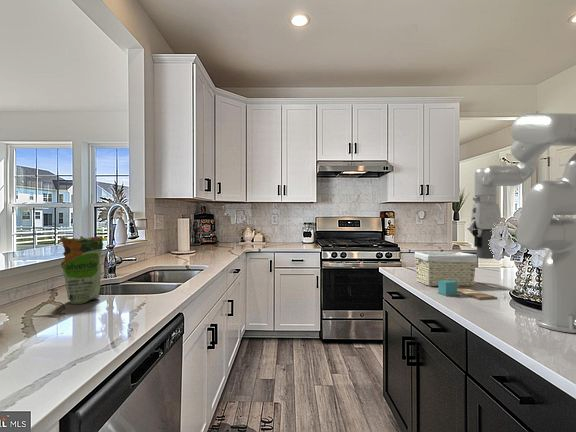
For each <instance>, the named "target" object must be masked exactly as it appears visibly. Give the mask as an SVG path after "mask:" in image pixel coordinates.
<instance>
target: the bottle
mask: <svg viewBox="0 0 576 432" xmlns="http://www.w3.org/2000/svg"><path fill="white" fill-rule="evenodd" d="M491 230H492V229H491ZM491 230H482V233H481V236H480V237H482V247H476V255H477V259H482V260H483V259H484V260H492V259H494V257H495V253H494V254H492V253H493V252H492V251H490V250H491V249H489V247H490V246H489V245H490V244H489V241H488V240H490V239H491V236H492V231H491ZM490 231H491V232H490ZM488 244H489V245H488ZM491 252H492V253H491ZM493 255H494V257H493Z"/></svg>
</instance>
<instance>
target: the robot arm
mask: <svg viewBox="0 0 576 432" xmlns="http://www.w3.org/2000/svg"><path fill="white" fill-rule="evenodd" d="M510 136H511V138H512V139H513V140H514V142H513V143H512V144H511V147H510V153H511V155H512V156H513V157H514V159H515V160H517V161H518V163H517V164H515V165H514V164H513V165H511V164H510V165H508V164H506V165H500V164H499V165H497V164H496V165H495V164H494V165H493V164H492V165H487V166H486V167H481V168H478V169H476V170H475V172H474V197H472V200H473V201H474V203H473V204H472V209H471V214H470V215H471V216H470V223H469V224H468V225H467V230H468V231H469V232H470V233H471V234H472V236H473V239H474V247H475V248H477V247H482V237H480V236H481V233H482V230H491V229H492V228H495V226H496V225H497V224H499V223H500V222H501V223H502V218H501V217H502V215H501V210H500V205H499V203H497V202H498V201H497V200H498V199H497V197H498V193H497V192H498V187H516V186H519V185H522V184H523V183H525V182H526V181H527V180H529V178H530V177H532V176H533V175H534V173H535V172H536V170H537V167H538V158H540V157H541V155H542V154H544V152H546V151H547V150H548V149H549V148H550V147H553V146H555V147H556V146H557V147H558V146H559V147H560V146H561V147H564V146H565V147H571V146H572V147H573V146H574V147H576V113H568V112H567V113H565V112H562V113H561V112H560V113H556V112H555V113H552V112H551V113H550V112H549V113H547V112H546V113H545V112H544V113H541V112H540V113H538V112H536V113H535V112H530V113H529V112H527V113H523V114H520V115H519V116H518V117H517V118H515V119H514V121H513V123H512V125H511V127H510ZM523 203H524V204H523V207H522V210H521V214H520V216H519V220H518V224H517V227H516V239H517V242H518V243H519V246H521V247H522V248H524V249H526V250H530V251H547V252H546V254H545V256H544V257H543V260H542V263H541V299H542V300H541V315H542V316H538V317H537V318H535V324H536V325H538V326H539V327H542V328H544V329H547V330H553V331H557V332H563V333H570V334H576V218H575V217H570V216H576V152H575V153H574V154H573V155H572V156H571V157H570V158H569V159H568V161H567V163H566V165H565V166H564V170H563V173H562V175H561V177H560V179H558V180H541V181H539V182H537V183H535V184H534V185H533V186H532V187H531V188H530V189H529V190H528V192H527V194H526V197H525V200H524V202H523ZM499 218H501V220H499ZM494 223H495V224H496V225H495V224H494ZM493 224H494V225H495V226H494V225H493Z"/></svg>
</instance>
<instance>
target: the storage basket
mask: <svg viewBox="0 0 576 432" xmlns="http://www.w3.org/2000/svg"><path fill="white" fill-rule="evenodd" d="M414 261H415V275H416V281H417V282H418V283H421V284H423V285H426V286H429V287H438V280H451V281H455V282H457V286H460V287H463V286H464V287H469V286H470V287H473V286H474V284H475V283H474V282H475V276H476V274H475V273H476V266H477V263H478V258H477V254H473V253H467V252H461V251H459V252H458V251H457V252H456V251H415V252H414Z"/></svg>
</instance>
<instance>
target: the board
mask: <svg viewBox="0 0 576 432" xmlns="http://www.w3.org/2000/svg"><path fill="white" fill-rule="evenodd" d="M457 294H460V295H462V296H465V297H469V298H471V299H475V300H478V301H483V300H484V301H485V300H498V297H497V296H495V295H491V294H488V293H485V292H480V291H477V290H473V289H469V288H466V287H463V286H457Z"/></svg>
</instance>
